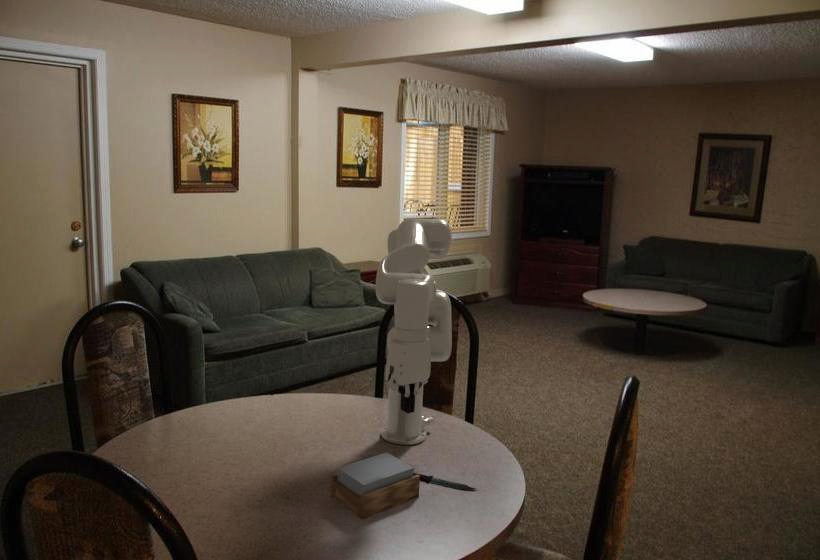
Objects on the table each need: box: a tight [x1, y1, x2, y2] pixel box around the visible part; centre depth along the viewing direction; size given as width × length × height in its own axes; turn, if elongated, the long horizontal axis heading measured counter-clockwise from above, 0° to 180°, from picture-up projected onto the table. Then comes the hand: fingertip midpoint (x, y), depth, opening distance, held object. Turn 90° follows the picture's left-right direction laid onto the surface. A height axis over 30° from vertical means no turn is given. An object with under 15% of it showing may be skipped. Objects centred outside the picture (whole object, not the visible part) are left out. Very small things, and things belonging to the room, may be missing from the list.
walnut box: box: [330, 472, 421, 520], centre depth 146 cm, size 16×12×5 cm
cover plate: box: [337, 452, 415, 496], centre depth 146 cm, size 14×10×3 cm
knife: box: [413, 472, 477, 491], centre depth 155 cm, size 21×1×3 cm
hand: (407, 410), depth 149 cm, fingers closed
